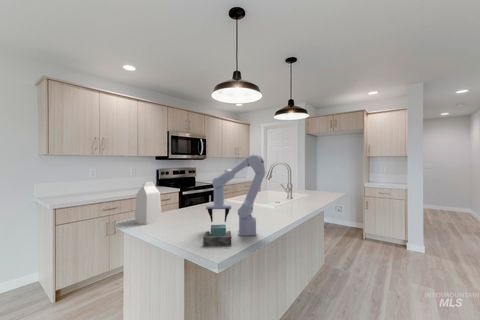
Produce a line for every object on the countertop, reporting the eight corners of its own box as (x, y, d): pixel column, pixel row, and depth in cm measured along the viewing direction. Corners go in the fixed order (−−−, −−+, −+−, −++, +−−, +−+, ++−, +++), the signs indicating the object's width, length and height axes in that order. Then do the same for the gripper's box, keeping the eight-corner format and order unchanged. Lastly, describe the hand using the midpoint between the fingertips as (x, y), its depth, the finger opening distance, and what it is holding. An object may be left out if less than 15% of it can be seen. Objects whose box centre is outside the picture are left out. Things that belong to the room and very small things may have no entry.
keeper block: (225, 233, 124) (225, 224, 124) (225, 237, 118) (225, 227, 118) (211, 234, 123) (211, 225, 123) (210, 237, 117) (210, 228, 117)
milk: (146, 224, 140) (146, 183, 139) (134, 222, 145) (134, 182, 145) (161, 220, 150) (161, 181, 150) (150, 218, 156) (150, 181, 156)
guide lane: (230, 233, 124) (230, 225, 124) (231, 245, 106) (231, 237, 106) (206, 233, 123) (206, 226, 123) (203, 246, 105) (203, 237, 105)
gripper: (231, 197, 133) (230, 219, 133) (206, 197, 132) (206, 219, 132) (231, 199, 126) (231, 223, 126) (205, 199, 125) (205, 223, 125)
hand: (218, 221), depth 129 cm, fingers open, 7 cm apart
